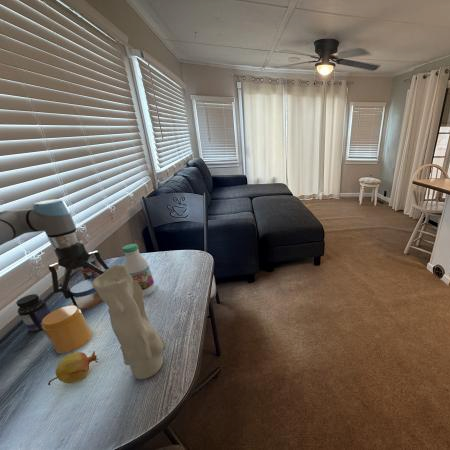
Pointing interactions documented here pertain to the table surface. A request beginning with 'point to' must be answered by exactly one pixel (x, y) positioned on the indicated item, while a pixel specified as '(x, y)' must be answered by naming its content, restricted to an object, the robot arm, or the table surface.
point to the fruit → (74, 367)
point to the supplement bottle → (90, 270)
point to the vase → (130, 321)
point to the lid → (83, 288)
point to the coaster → (87, 301)
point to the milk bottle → (138, 268)
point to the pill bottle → (32, 311)
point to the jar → (66, 329)
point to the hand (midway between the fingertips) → (91, 296)
